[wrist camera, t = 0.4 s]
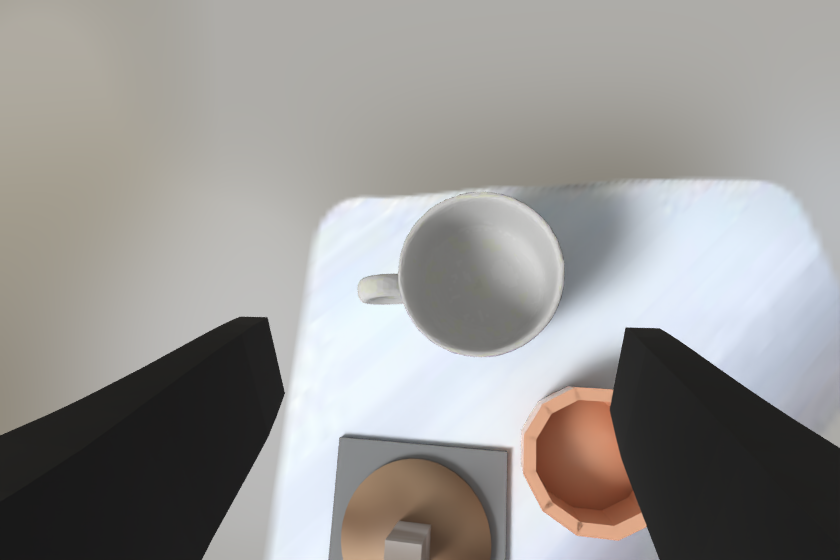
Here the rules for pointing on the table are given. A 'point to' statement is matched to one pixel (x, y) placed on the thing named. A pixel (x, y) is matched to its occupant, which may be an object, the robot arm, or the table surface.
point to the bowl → (579, 465)
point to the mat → (473, 465)
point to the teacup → (476, 275)
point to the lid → (415, 516)
